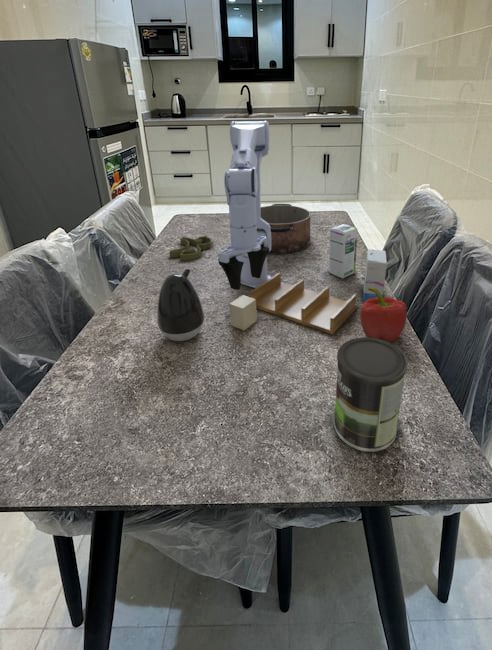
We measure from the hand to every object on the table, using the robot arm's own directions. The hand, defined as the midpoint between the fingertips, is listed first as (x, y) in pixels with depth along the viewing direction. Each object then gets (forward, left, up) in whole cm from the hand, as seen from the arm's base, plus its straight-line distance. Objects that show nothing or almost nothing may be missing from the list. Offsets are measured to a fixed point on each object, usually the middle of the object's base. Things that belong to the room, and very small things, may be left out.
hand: (246, 282), depth 87 cm
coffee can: (+35, -14, -11) cm, 39 cm away
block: (-1, -1, -11) cm, 11 cm away
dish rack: (+7, +13, -11) cm, 19 cm away
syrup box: (+7, +36, -11) cm, 39 cm away
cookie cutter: (-45, +25, -11) cm, 53 cm away
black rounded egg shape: (-10, -12, -11) cm, 19 cm away
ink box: (+20, +28, -11) cm, 37 cm away
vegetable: (+28, +12, -11) cm, 33 cm away
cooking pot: (-23, +47, -11) cm, 54 cm away
